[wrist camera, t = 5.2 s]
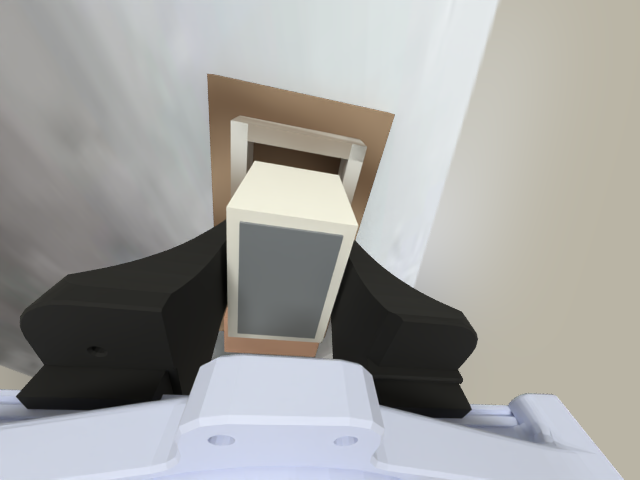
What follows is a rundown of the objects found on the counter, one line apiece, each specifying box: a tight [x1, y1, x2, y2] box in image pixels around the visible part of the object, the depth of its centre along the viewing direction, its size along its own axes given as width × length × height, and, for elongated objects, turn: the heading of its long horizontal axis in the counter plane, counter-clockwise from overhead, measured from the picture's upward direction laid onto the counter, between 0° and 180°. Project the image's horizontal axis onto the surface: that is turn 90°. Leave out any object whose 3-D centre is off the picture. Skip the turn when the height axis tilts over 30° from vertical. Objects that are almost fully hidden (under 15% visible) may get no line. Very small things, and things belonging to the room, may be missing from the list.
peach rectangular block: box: [224, 307, 319, 357], centre depth 20 cm, size 4×7×3 cm, turn 79°
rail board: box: [207, 74, 395, 338], centre depth 18 cm, size 20×10×3 cm, turn 169°
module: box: [226, 161, 358, 343], centre depth 11 cm, size 6×4×5 cm, turn 169°
